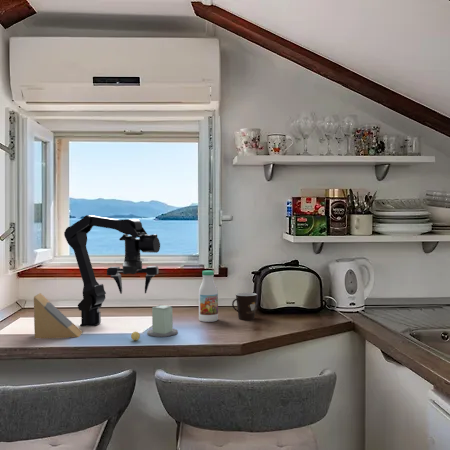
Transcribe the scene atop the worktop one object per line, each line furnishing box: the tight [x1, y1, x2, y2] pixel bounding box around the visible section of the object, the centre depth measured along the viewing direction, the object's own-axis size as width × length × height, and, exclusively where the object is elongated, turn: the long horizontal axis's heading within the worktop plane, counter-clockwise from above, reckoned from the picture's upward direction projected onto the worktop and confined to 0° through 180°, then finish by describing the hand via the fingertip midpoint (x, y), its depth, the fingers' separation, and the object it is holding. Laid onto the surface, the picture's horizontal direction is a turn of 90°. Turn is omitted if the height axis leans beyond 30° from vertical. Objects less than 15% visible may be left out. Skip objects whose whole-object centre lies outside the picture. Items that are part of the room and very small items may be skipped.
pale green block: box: [151, 304, 174, 334], centre depth 183 cm, size 5×5×9 cm
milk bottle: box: [198, 269, 219, 323], centre depth 204 cm, size 8×8×20 cm
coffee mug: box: [231, 292, 258, 321], centre depth 206 cm, size 12×9×10 cm
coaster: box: [146, 328, 179, 338], centre depth 183 cm, size 11×11×1 cm
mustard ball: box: [130, 331, 141, 341], centre depth 173 cm, size 3×3×3 cm
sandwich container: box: [33, 292, 83, 339], centre depth 181 cm, size 9×15×15 cm, turn 96°
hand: (133, 293), depth 192 cm, fingers open, 9 cm apart
